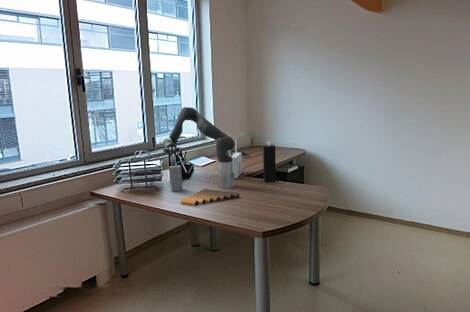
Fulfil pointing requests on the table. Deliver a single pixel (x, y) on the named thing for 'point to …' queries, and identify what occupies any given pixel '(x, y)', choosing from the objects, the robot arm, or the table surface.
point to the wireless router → (237, 151)
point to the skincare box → (237, 164)
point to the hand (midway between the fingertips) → (173, 151)
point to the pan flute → (208, 197)
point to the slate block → (176, 178)
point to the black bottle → (269, 162)
